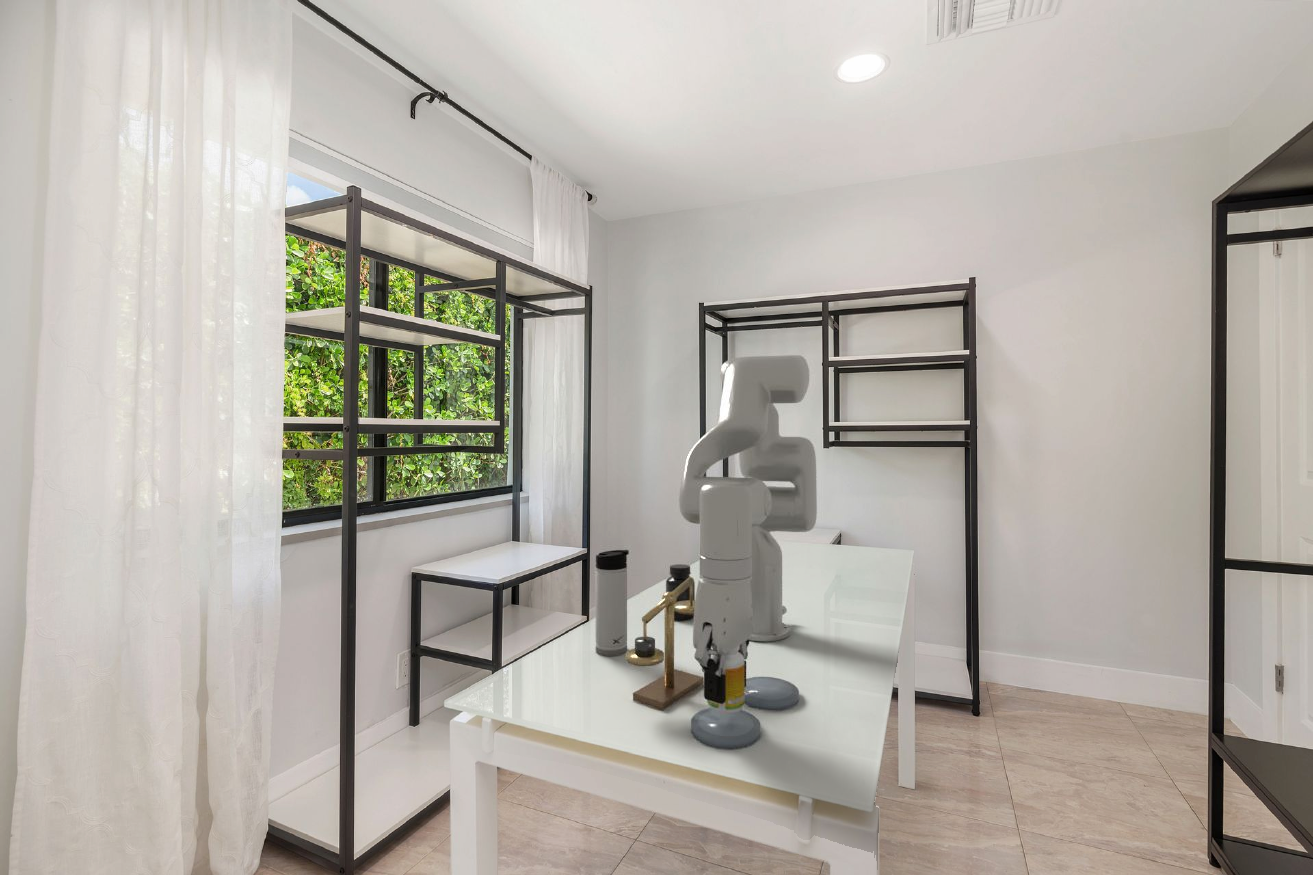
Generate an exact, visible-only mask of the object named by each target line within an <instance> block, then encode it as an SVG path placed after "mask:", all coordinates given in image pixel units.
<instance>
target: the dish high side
mask: <svg viewBox="0 0 1313 875" xmlns="http://www.w3.org/2000/svg"><path fill="white" fill-rule="evenodd" d="M744 693H745V702H744V706H745V705H746V706H747V707H751V708H753V709H758V710H761V711H784V710H785V711H786V710H788V709H789V710H790V709H791V708H794V707H796V706H797V705H798V703H799V701H800V691H799V688H798V687H797V686H796V685H795V684H794V683H792V682H791V681H787V680H785V679H782V678H778V677H772V676H753V677H748V678H747V677H746V687H745V692H744Z"/></svg>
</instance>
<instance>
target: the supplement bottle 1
mask: <svg viewBox="0 0 1313 875" xmlns="http://www.w3.org/2000/svg"><path fill="white" fill-rule="evenodd" d="M691 574H692V573H691V566H690V565H689V564H679V563H678V564H672V565H670V566H669V575H670V576H669V577H668V578H667V579H666V581H665V593H666V592H673V591H674V590H675V589H676V588H677V587H678V586H680V585H681V584H682V583H683V582H684V581H685V580H687V579H688V578H689V577H691V576H690V575H691ZM695 591H696V586H695V581H694V583H693V601H695V598H696V592H695ZM688 600H690V586H689V587H688V588H687V589H686V590H685V591H684V592H682V593H681V594H680V595H679V596H678V597H677V598H676V603H677V602H680V601H688ZM690 620H694V615H685V614H680V613H677V612H675V611H674V622H676V621H678V622H683V621H686V622H687V621H690Z"/></svg>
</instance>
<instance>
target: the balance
mask: <svg viewBox="0 0 1313 875" xmlns="http://www.w3.org/2000/svg"><path fill="white" fill-rule="evenodd" d="M694 582H695V580H694V578H693V577H692V576H690V577H689V578H688V579H687V580H685V581H684V582H683V583H682V584H681V585H680V586H678V587H677V588H676V589H675V590H674V591H673V592H666V591H665V592H664V593H663V595H662V597H661V599H662V600H660V602H658V603H657V604H656V605H655V606H654V607H653V608H651V609H650V610H649V611H648V612H647V613H646V614H645V615H643V616H642V618H641V621H642V623H643V624H642V628H643V630H642V631H643V633H642V636H637V637H635V639H634V648H631V649H628V650H627V651H626V652H625V661H626V662H627V664H629V665H633V666H636V667H652V666H657V665H660V664H662V663H663V662H664V674H663V675H662V676H660V677H658V678H656V679H655V680H653V681H652V682H649V683H648V684H646V685H644V686H643V687H641V688H639V689H637V690H636V691H634V692H632V701H634V702H635V703H636V702H637V703H640V704H643V705H646V706H649V707H652V708H655V709H658V710H661V711H665V710H666V709H668V708H669V707H671V706H672V705H674V704H676V703H677V702H679V701H680V700H682V699H684V698H685V697H686V696H688V695H689V694H691V693H692V692H694V691H696V690H697V689H698V688H700V687H701V686H704V676H701V675H697V674H694V673H689V672H686V671H683V670H679V669H676V668H675V620H674V611H675V612H677V613H680V614H685V615H694V609H695V601H693V583H694ZM689 586H690V600H688V601H680V602H677V603H676V598H677V597H678V596H679V595H680V594H681V593H682V592H684V591H685V590H686V589H687V588H688V587H689ZM663 610H664V650H661V649H659V648H657V647H656V639H655V638H654V637H652V636H647V627H648V626H647V624H649V623H650V621H652V620H653V619H654V618H655V617H656V616H658V615H659V613H661V612H662V611H663Z"/></svg>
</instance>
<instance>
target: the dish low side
mask: <svg viewBox="0 0 1313 875" xmlns="http://www.w3.org/2000/svg"><path fill="white" fill-rule="evenodd" d="M761 726H762V725H761V722H760V719H759V718H758V717H757V716H755V715H754V714H752V713H751V712H749V711H746V710H744V709H742V710H741V711H739V712H735V713H719V712H716V711H714V710H712V709H710V708H709V707H708V708H704V709H702V710H699V711H698V712H696V713H695V714H694V715H692V717H691V719H690V733H691V735H692V737H693V738H694V739H695V740H696V741H697V742H699V743H700V744H703V745H705V746H707V747H710V748H714V749H719V750H720V749H721V750H739V749H744V748H748V747H750V746H752V745H754V744H756V743H757V742H758V741H759V740H760V738H761V736H762V735H761V733H762V732H761V731H762V730H761Z"/></svg>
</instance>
